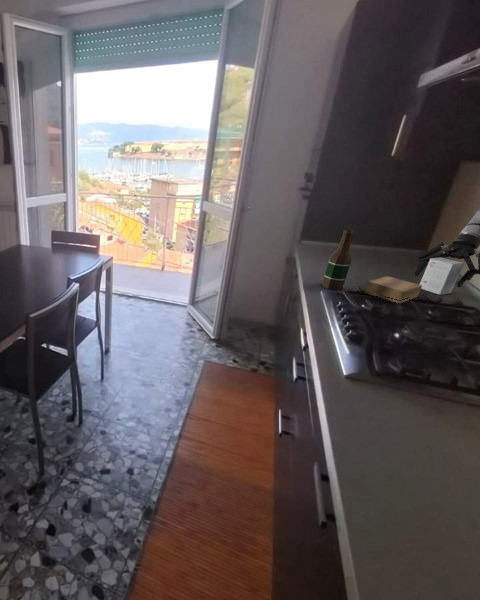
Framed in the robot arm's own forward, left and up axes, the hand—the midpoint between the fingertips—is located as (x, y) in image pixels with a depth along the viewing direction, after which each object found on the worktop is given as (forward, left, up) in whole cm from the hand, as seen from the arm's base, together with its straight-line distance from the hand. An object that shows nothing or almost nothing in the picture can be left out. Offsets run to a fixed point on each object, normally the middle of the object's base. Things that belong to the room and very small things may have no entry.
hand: (436, 279), depth 144 cm
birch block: (0, +20, -5) cm, 21 cm away
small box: (0, -2, -5) cm, 6 cm away
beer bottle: (+12, +36, -5) cm, 38 cm away
